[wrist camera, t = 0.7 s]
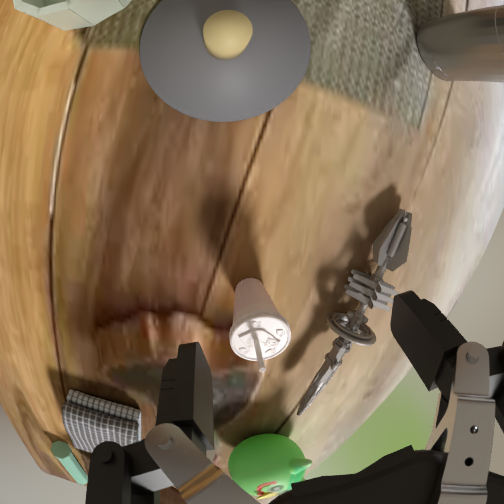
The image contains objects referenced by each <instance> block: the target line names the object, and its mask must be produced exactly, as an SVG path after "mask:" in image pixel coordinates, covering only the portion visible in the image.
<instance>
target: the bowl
mask: <svg viewBox="0 0 504 504" xmlns="http://www.w3.org/2000/svg"><path fill="white" fill-rule="evenodd" d="M131 1H132V0H13V2H14V6H15V9H16V10H19V11H21V12H23V13H26V14H28V15H30V16H33V17H35V18H37V19H39V20H41V21H44V22H46V23H48V24H50V25H53V26H55V27H57V28H59V29H61V30H63V31H66V30H71V29H77V28H83V27H89V26H93V25H96V24H97V23H99V22H101V21H102V20H104V19H106V18H108V17H109V16H111V15H113V14H115V13H116V12H118V11H120V10H122V9H124V7H126V6H127V5H128V4H129V3H130V2H131Z"/></svg>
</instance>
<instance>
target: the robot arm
mask: <svg viewBox="0 0 504 504" xmlns="http://www.w3.org/2000/svg"><path fill="white" fill-rule="evenodd" d="M417 44H418V49H419V52H420V55H421V57H422V59H423V61H424V63H425V64H426V66H427V67H428V68H429V69H430V71H431V72H432V73H433V74H435V75H436V76H437V77H439V78H441V79H442V80H446V81H485V82H503V83H504V5H500V6H493V7H487V8H481V9H476V10H471V11H466V12H461V13H457V14H452V15H448V16H444V17H440V18H436V19H432V20H429V21H426V22H424V23H422V24H421V26H420V27H419V29H418V33H417ZM391 331H392V334H393V336H394V338H395V339H396V341H397V342H398V344H399V345H400V347H401V348H402V350H403V351H404V353H405V354H406V356H407V357H408V359H409V360H410V362H411V364H412V365H413V367H414V368H415V370H416V371H417V373H418V374H419V376H420V378H421V379H422V381H423V382H424V384H425V386H426V387H427V389H428V391H431V390H433V389H435V388H437V387H438V388H439V390H440V393H439V398H438V403H437V409H436V414H435V419H434V424H433V429H432V433H431V436H430V438H429V441H428V443H427V445H426V448H425V450H415V451H414V450H413V447H412V445H410V446H407V447H405V448H403V449H400V450H398V451H396V452H393V453H391V454H388V455H386V456H384V457H382V458H381V459H379V460H378V461H376V462H375V463H373V464H372V465H370V466H368V467H367V468H365V469H364V470H362V471H360V472H358V473H356V474H349V475H348V474H347V475H334V476H321V477H317V478H313V479H309V480H305V481H300V482H296V483H291V487H292V489H291V490H289V491H287V492H285V493H283V494H281V495H279V496H278V497H276V498H275V499H274V500H272V501H271V502H270V503H269V504H504V476H502V475H499V474H496V473H493V472H490V471H489V466H490V459H491V452H492V444H493V434H494V422H495V418H496V420H497V422H498V423H499V425H500V427H501V429H502V430H503V433H504V342H503V344H502V346H499V347H493V348H488V349H486V348H485V347H484V346H482V345H481V344H479V343H476V342H467V341H466V340H465V339H464V337H463V336H462V335H461V334H460V333H459V331H458V330H457V329H456V328H455V327H454V326H453V325H452V323H451V322H450V321H449V320H447V318H446V317H445V316H444V314H443V313H441V311H440V310H439V309H438V308H437V307H436V306H435V304H433V303H431V302H429V301H428V300H426V299H420V298H419V297H418V296H417V295H416V294H415V293H414V292H413V291H407V292H404V293H401V294H398V295H395V296H394V300H393V308H392V316H391ZM160 390H161V391H160V395H159V403H158V411H157V420H156V425H155V427H153V428H152V429H151V430H150V431H149V432H148V433H147V435H146V438H145V439H143V440H141V441H138V442H135V443H132V444H129V445H126V446H121V445H120V444H118V443H117V442H114V441H105V442H102V443H100V444H98V445H97V446H96V447H95V448H94V450H93V451H92V454H91V459H90V466H89V474H88V483H87V492H86V504H160V489H163V488H167V487H170V486H173V485H174V486H175V487H176V488H177V489H178V491H179V492H180V496H181V497H182V498H183V500H184V501H185V502H186V503H187V504H260V503H259V502H258V501H257V500H255V499H254V498H253V497H252V496H251V495H249V494H248V493H247V492H246V491H245V490H243V489H242V488H241V487H240V486H239V485H238V484H237V483H235V482H234V481H233V480H232V479H231V478H230V477H229V476H228V475H227V474H225V473H224V472H223V471H222V470H221V469H220V468H219V467H217V466H216V465H215V464H214V463H212V462H211V461H210V460H209V459H208V458H207V457H206V450H214V425H213V390H212V375H211V370H210V367H209V365H208V362H207V360H206V358H205V355H204V353H203V351H202V348H201V346H200V344H199V342H193V343H187V344H180V345H179V348H178V356H177V358H175V359H169V361H168V362H167V364H166V366H165V367H164V369H163V373H162V382H161V388H160Z"/></svg>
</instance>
